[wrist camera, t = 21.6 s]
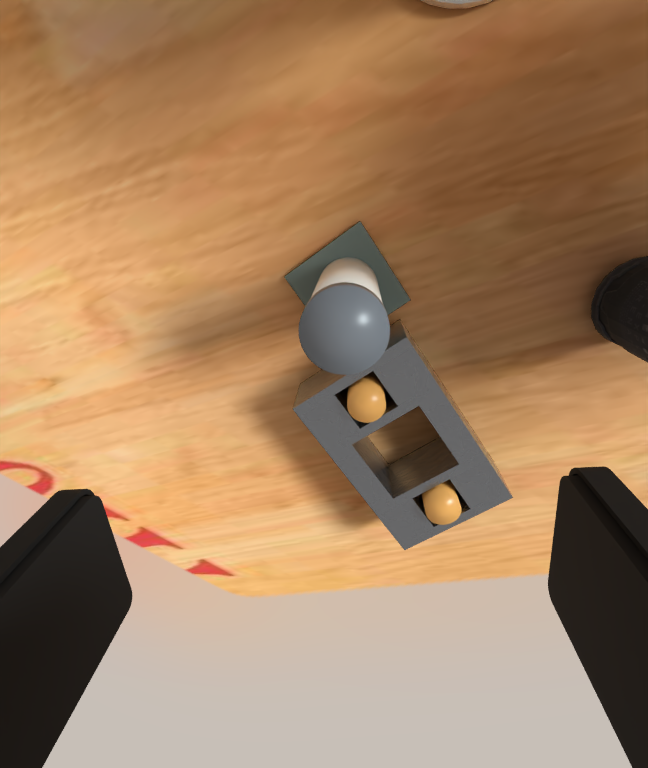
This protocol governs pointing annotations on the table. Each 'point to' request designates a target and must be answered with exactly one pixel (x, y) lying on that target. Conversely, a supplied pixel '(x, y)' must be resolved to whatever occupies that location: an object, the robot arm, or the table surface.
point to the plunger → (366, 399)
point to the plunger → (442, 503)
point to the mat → (353, 246)
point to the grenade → (624, 307)
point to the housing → (416, 470)
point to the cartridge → (345, 319)
